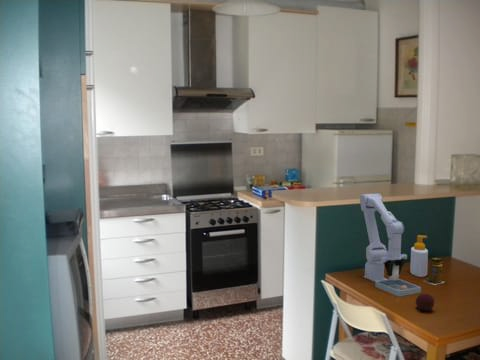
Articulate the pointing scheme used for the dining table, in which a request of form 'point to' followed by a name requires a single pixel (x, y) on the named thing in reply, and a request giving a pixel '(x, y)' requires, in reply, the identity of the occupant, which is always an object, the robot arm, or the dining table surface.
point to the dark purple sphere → (425, 302)
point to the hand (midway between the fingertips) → (393, 275)
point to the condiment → (435, 271)
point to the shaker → (395, 273)
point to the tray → (397, 287)
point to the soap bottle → (419, 258)
